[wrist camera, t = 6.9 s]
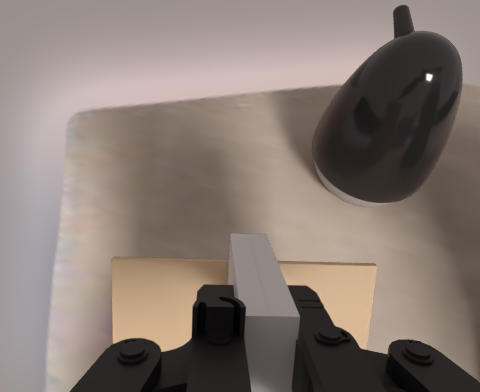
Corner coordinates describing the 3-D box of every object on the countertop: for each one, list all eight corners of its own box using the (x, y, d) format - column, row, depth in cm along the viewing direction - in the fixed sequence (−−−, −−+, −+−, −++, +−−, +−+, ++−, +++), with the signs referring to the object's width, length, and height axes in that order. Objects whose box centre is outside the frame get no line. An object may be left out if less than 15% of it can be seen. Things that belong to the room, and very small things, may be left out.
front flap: (358, 407, 18) (356, 403, 18) (377, 266, 17) (374, 263, 17) (113, 408, 17) (115, 403, 18) (111, 259, 16) (113, 256, 16)
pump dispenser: (388, 133, 41) (474, -8, 28) (423, 221, 35) (549, 96, 22) (293, 136, 40) (337, -11, 27) (314, 227, 34) (381, 98, 21)
